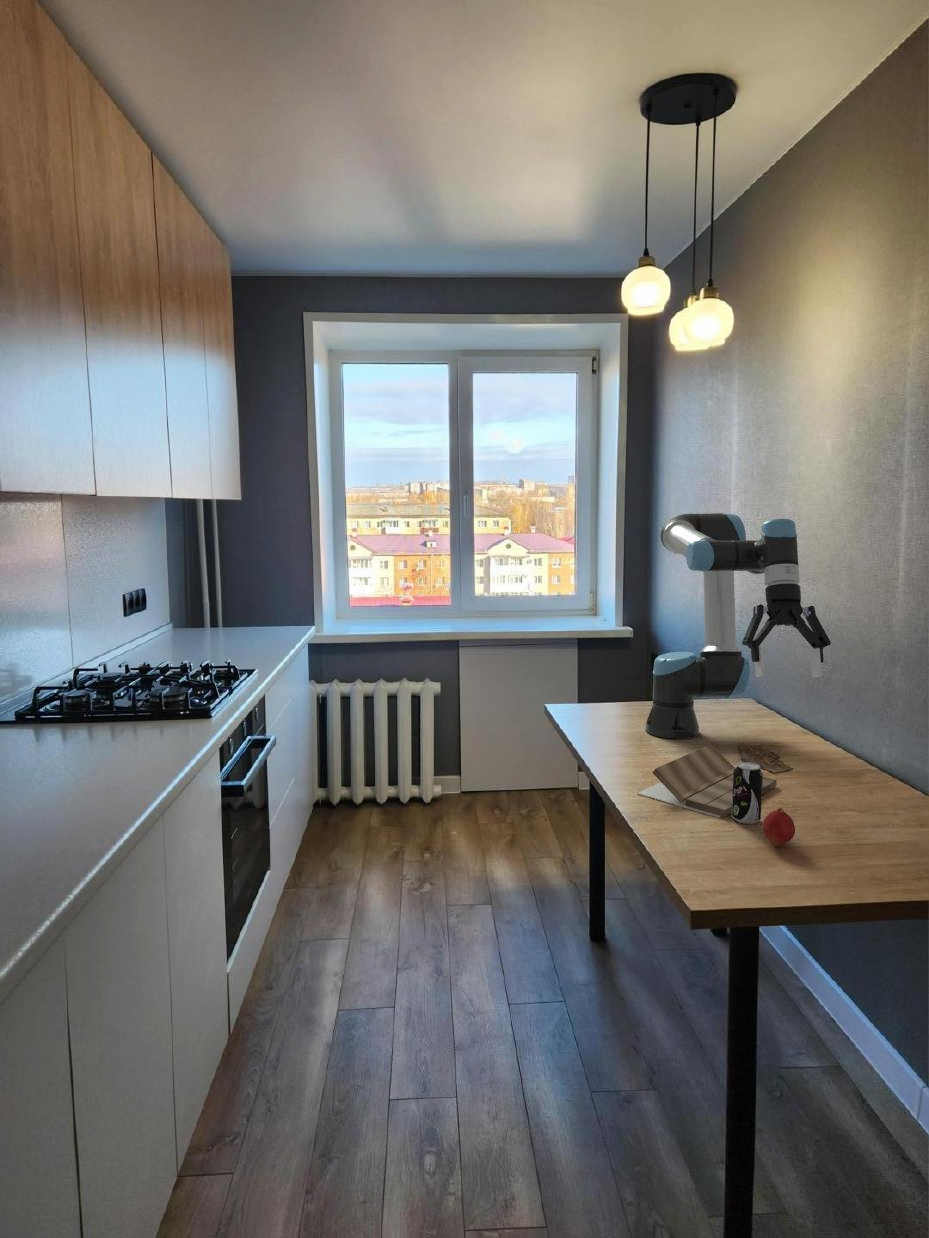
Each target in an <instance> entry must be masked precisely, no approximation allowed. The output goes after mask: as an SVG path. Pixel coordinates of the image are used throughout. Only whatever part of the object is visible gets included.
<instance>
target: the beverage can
mask: <svg viewBox="0 0 929 1238" xmlns="http://www.w3.org/2000/svg"><path fill="white" fill-rule="evenodd" d="M763 773H764V772H762V770H761V767H760V766H759V765H758V764H755V763H751V762H747V761H742V762H741V761H740V762H737V763H736V767H735V769H734V772H733V795H732V813H731V817H732V818H733V819H734V820H735V821H736V822H738V823H740V824H743V825H754V824H756V823H758V822H761V819H762V818H761V817H762V801H763V800H762V799H763V794H762V783H763V777H764V774H763Z"/></svg>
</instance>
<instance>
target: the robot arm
mask: <svg viewBox="0 0 929 1238" xmlns="http://www.w3.org/2000/svg"><path fill="white" fill-rule="evenodd" d="M760 532H761V533H760V536H761V538H760V539H758V540H757V539H753V540H750V539H749V540H747V533H746V527H745V525H744V522H743V521H742V519H741V518H740V517H739V516H738V515H737V514H734V513H724V512H721V513H720V512H719V513H713V512H712V513H682V514H679V515H677V516H674V517H672V518H671V519H669V520H667V521H666V522H665V523H664V525H663V526H662V528H661V531H660V541H661V544H662V546H663V547H664V548H665V549H666V550H667V551H669V552H670V553H673V554H678V555H679V554H680V555H682V556H683V557H685V560H686V565H687V567H688V569H689V570H691V571H697V572H702V576H703V607H704V608H703V610H704V613H703V614H704V616H703V617H704V641H705V642H704V644H705V645H704V647H703V648H701V650H700V651H699V657H697V655H696V654H695V653H694V652H690V651H674V652H673V651H672V652H668V653H667V652H665V653H663V654H660V655H657V657H656V658H655V659H654V662H653V671H652V675H653V678H652V679H653V681H652V706H651V709H650V711H649V714H648V716H647V719H646V721H645V722H646V723H645V732H646V733H647V734H649V735H652V736H655V737H659V738H664V739H673V740H676V739H677V740H680V739H681V740H683V739H685V740H686V739H693V738H695V737H698V735H699V734H700V725H699V721H698V719H697V718H698V717H697V714H696V712H695V708H694V705H695V704H694V703H695V698H703V699H704V698H706V699H707V698H715V699H716V698H719V699H720V698H724V699H729V698H739V697H741V696H743V695H744V694H745V692H746V690H747V689H748V686H749V683H750V676H751V665H750V662H749V660H748V658H746V657H745V656H743V654H742V653H743V651H742V650H741V648H740V647H738V646H737V639H736V638H737V637H736V636H737V633H736V632H737V631H736V599H735V595H736V594H735V572H749V573H750V574H753V575H762V574H763V575H764V585H765V586H766V587H765V602H766V606H765V605H763V604H762V603H761V604H758V605H755V606H753V611H752V612H753V614H752V618H751V620H750V622H749V625H748V627H747V629H746V631H745V634H744V635H743V639H742V642H741V644H742V645H743V646H746V647H748V649H750V657H751V659H750V660H751V661H752V663H754V666H755V678H761V677H765V676H766V672H765V671H766V670H765V657H764V656H765V655H764V647H763V646H761V644H762V643H763V642H764V641H765V640H766V638H767V637H768V636H769V634H770V633H771V631H772V630H773V629H774V627H775V626H777V627H778V626H779V627H781V626H786V627H790V626H791V627H793V628H794V629H796V630H797V632H798V633H800V635H802V637H803V638H804V639H805V640H806V641H807V643H808V644H809V645H810V646H811V647H812V648H811V649H809V655H810V667H811V668H810V670H811V678H812V679H816V678H822V677H823V674H822V673H823V672H822V663H824V648H825V647H828V646H831V644H832V642H831V639H830V638H829V636H828V634H827V633H826V631H825V629H824V627H823V626H822V623H821V622H820V619H819V618H818V616H817V613H816V608H815V606H814V605H810V606H809V605H808V606H804V607H802V604H801V601H802V596H801V595H802V592H801V586H800V585H799V583H800V581H801V580H800V567H799V553H798V552H799V551H798V534H797V530H796V522H795V521H793V520H792V519H789V518H774V519H769V520H767V521H765V522H763V523H762V525H761V530H760ZM765 614H767V616H768V619H767V620H766V622H765V623H764V625H763V626H762V628H760V629H759V627H760V624H761V621H762V619H763V617H764V615H765ZM802 616H803V617H805V619H804V618H803V617H802ZM805 620H806V621H805ZM806 622H807V623H808V624H807V623H806ZM808 625H809V626H808ZM758 630H759V632H758V633H757V631H758ZM756 634H757V635H756ZM755 635H756V636H755Z"/></svg>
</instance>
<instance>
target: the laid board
mask: <svg viewBox="0 0 929 1238" xmlns="http://www.w3.org/2000/svg"><path fill="white" fill-rule="evenodd" d="M777 782H778V781H777V779H773V778H770V777H766V776H763V783H762V795H764V794H766V793H768V792H769V791H771V790H773V789H774V788H776V787H777ZM732 795H733V775H731V776H729V777H728V778H726V779H724V780H722V781H720V782H718V783H716V784H714V785H712V786H710V787H708V788H706V789H705V790H703V791H701V792H699V793H697V794H695V795H693V796H691V797H689V798H687V799H686V806H688V807H692V808H695V809H699V810H702V811H706V812H709V813H713V814H716V815H720V816H722V818H723V817H724V818H725V817H728V816H729V815H730V814H732Z"/></svg>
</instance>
